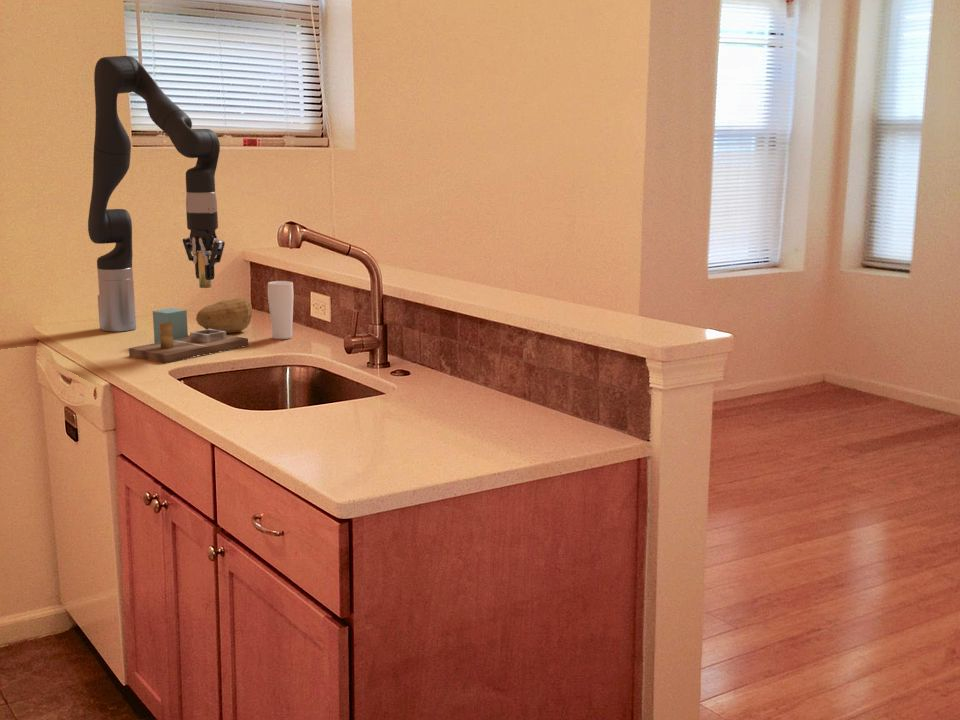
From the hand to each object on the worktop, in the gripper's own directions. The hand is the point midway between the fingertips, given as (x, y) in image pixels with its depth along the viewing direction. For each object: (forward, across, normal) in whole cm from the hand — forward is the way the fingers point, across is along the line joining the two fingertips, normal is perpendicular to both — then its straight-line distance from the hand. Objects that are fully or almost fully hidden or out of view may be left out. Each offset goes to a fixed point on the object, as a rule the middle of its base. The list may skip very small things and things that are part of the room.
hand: (205, 278), depth 273 cm
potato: (+18, -12, +16) cm, 27 cm away
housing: (+18, -11, -3) cm, 21 cm away
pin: (+2, 0, 0) cm, 2 cm away
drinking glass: (+18, +6, +20) cm, 28 cm away
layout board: (+18, 0, -6) cm, 19 cm away
